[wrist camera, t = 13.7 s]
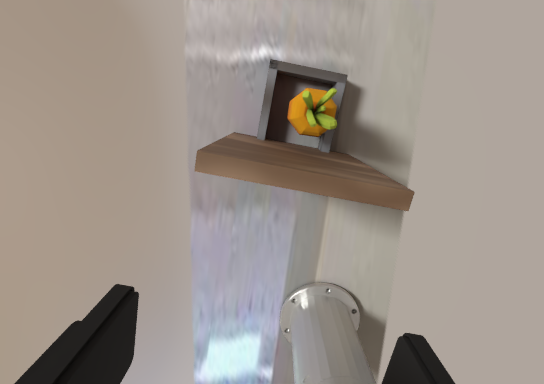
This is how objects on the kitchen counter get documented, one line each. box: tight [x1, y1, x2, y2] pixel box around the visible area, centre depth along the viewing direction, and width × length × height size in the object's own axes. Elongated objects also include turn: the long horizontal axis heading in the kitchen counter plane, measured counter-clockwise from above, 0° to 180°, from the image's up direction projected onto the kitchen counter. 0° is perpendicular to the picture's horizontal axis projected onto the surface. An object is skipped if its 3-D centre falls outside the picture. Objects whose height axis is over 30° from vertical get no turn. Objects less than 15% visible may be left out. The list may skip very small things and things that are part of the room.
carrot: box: [287, 88, 337, 137], centre depth 32 cm, size 5×5×15 cm
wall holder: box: [195, 59, 414, 211], centre depth 30 cm, size 11×16×20 cm
